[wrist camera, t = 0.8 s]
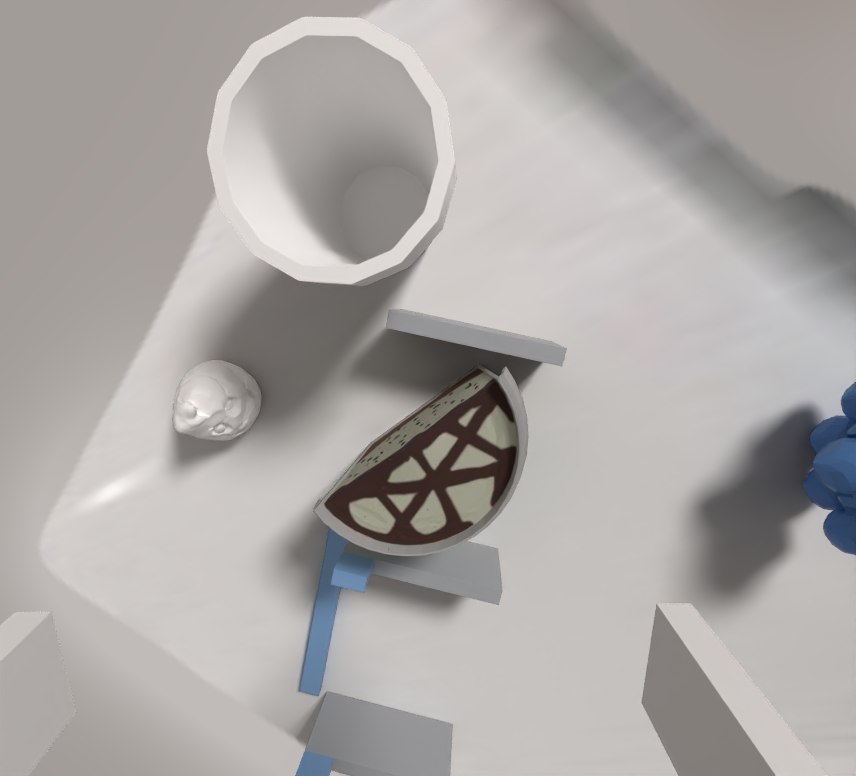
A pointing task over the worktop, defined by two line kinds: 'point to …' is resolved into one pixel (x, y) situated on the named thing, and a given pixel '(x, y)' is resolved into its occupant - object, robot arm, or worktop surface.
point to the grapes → (836, 473)
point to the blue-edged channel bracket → (446, 571)
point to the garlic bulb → (216, 401)
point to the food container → (435, 471)
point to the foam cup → (333, 152)
